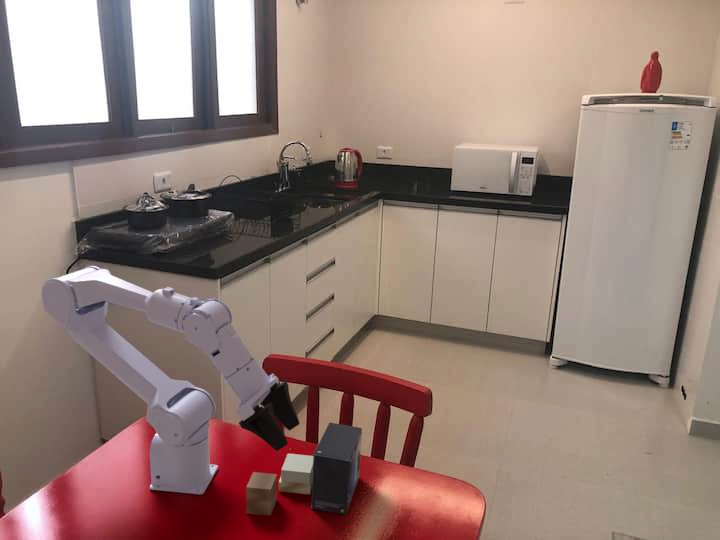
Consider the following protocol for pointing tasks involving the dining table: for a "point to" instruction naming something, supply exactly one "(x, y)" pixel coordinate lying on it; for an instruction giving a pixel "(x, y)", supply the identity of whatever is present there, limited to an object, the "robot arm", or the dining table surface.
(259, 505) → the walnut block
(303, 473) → the tower top
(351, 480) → the small box
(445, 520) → the dining table surface
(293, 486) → the tower base
